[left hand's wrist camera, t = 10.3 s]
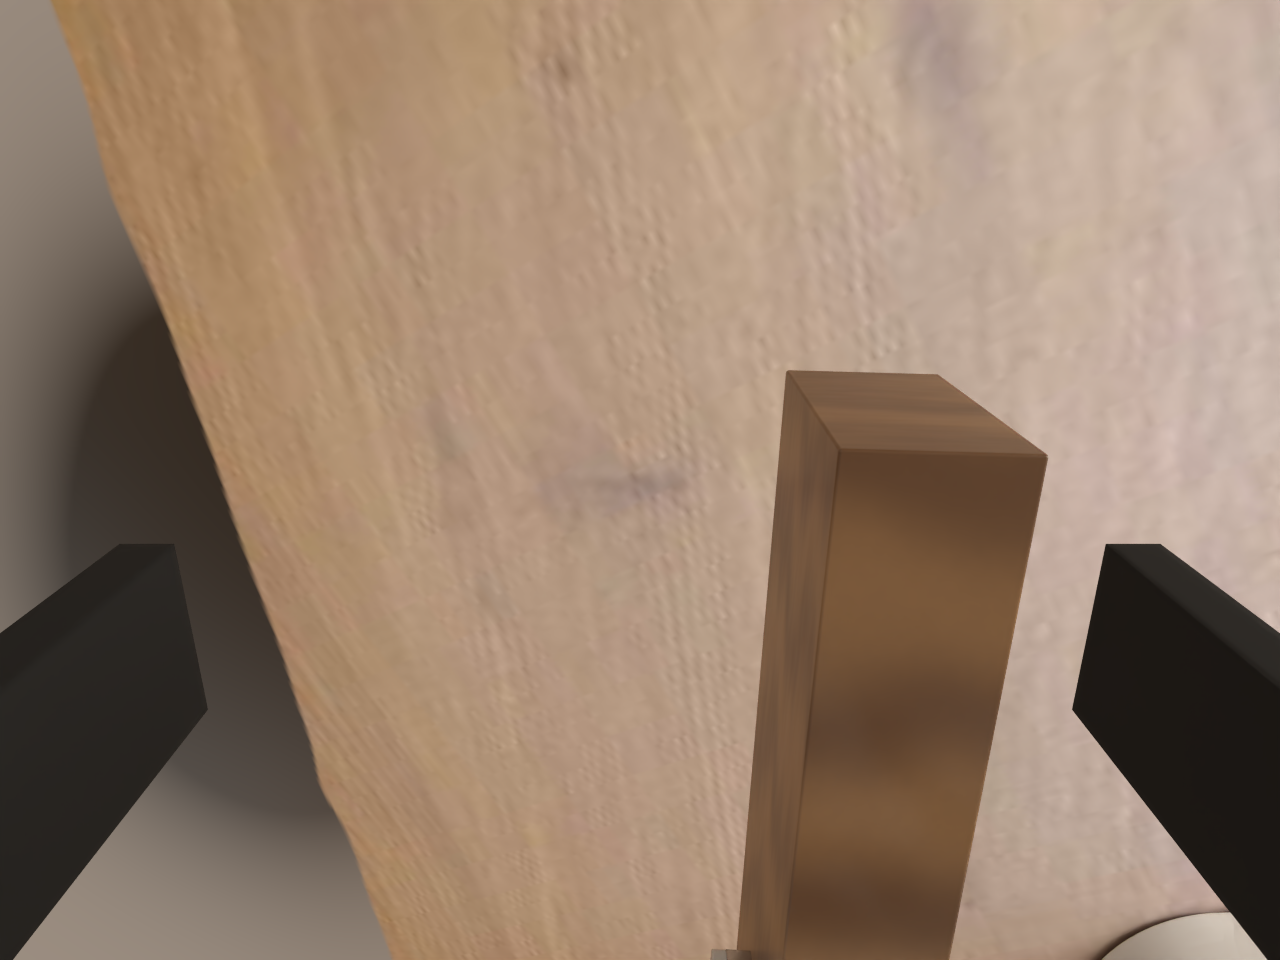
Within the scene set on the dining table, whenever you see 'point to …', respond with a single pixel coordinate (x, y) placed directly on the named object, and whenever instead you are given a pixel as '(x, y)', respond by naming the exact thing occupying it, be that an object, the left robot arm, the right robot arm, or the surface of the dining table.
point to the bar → (880, 662)
